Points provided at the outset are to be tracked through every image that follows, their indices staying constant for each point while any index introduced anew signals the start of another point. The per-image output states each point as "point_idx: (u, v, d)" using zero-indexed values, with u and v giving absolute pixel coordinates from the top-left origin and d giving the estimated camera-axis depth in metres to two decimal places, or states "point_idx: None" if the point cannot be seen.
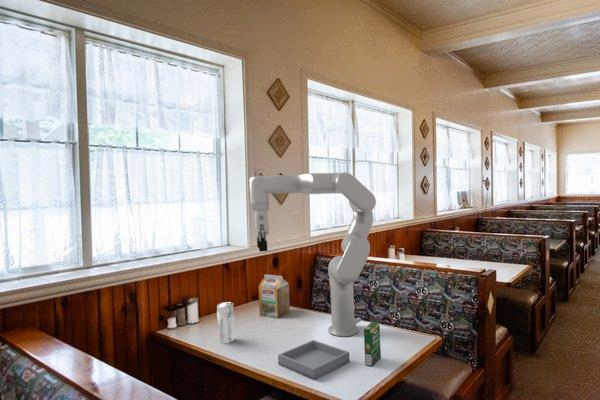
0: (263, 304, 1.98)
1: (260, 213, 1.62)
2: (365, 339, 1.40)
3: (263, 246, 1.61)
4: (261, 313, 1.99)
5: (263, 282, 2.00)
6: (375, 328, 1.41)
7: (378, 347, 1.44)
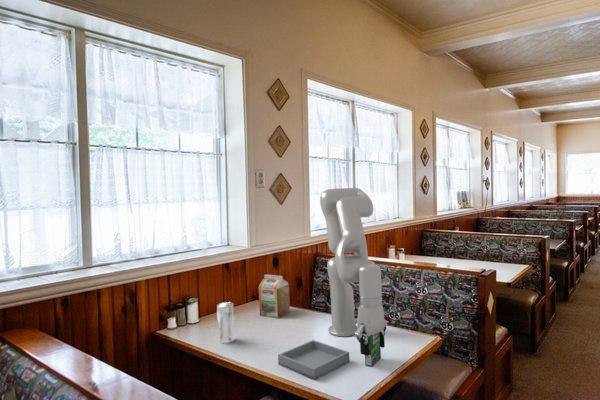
0: (263, 304, 1.98)
1: None
2: None
3: None
4: (261, 313, 1.99)
5: (263, 282, 2.00)
6: None
7: (378, 347, 1.44)
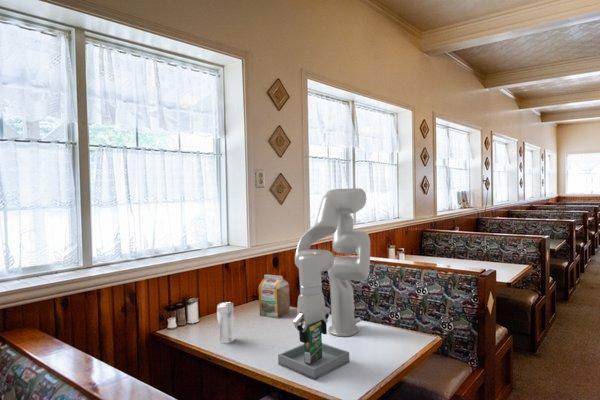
0: (263, 304, 1.98)
1: None
2: None
3: None
4: (261, 313, 1.99)
5: (263, 282, 2.00)
6: (315, 326, 1.43)
7: (319, 345, 1.45)
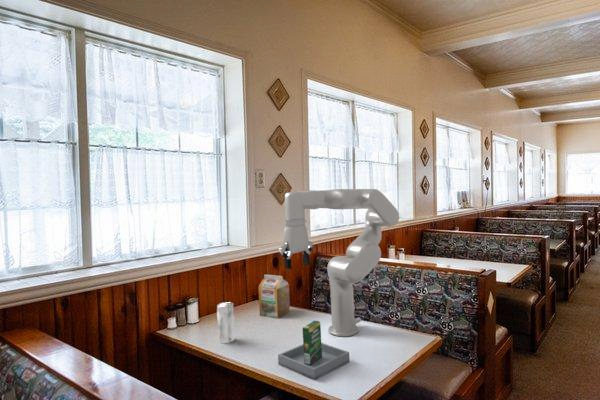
0: (263, 304, 1.98)
1: None
2: (304, 338, 1.41)
3: None
4: (261, 313, 1.99)
5: (263, 282, 2.00)
6: (314, 327, 1.42)
7: (318, 346, 1.45)
